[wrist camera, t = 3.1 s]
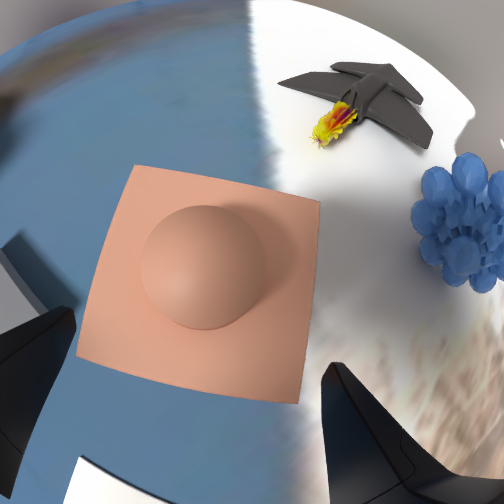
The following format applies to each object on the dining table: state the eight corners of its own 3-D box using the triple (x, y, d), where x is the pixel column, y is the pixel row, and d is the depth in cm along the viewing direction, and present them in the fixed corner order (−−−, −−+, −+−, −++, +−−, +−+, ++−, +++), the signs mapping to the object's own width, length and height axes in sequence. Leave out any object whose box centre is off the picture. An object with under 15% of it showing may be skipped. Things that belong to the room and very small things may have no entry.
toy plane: (401, 207, 21) (426, 161, 16) (238, 126, 26) (235, 80, 22) (439, 107, 31) (450, 79, 26) (339, 62, 36) (343, 34, 32)
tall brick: (235, 368, 17) (311, 411, 4) (165, 354, 17) (57, 355, 4) (247, 300, 19) (332, 183, 6) (179, 287, 18) (128, 143, 5)
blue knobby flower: (358, 244, 21) (462, 155, 10) (392, 196, 24) (475, 113, 12) (445, 335, 20) (559, 306, 9) (467, 280, 22) (560, 236, 11)
